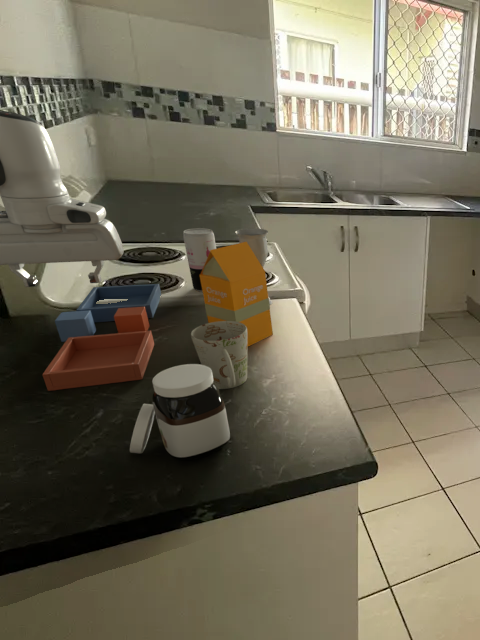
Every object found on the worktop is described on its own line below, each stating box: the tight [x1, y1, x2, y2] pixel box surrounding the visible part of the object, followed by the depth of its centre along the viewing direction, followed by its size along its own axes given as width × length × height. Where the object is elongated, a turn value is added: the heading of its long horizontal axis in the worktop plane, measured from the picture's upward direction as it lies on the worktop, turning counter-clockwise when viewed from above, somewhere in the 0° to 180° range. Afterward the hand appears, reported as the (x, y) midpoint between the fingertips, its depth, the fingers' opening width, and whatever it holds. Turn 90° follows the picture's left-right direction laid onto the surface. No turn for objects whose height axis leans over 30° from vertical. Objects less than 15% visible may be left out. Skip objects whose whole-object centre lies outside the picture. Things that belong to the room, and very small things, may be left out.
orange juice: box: [200, 242, 274, 348], centre depth 96 cm, size 8×9×20 cm
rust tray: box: [41, 330, 155, 392], centre depth 85 cm, size 13×15×3 cm
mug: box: [190, 321, 248, 390], centre depth 82 cm, size 8×13×10 cm, turn 40°
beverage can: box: [182, 227, 217, 293], centre depth 121 cm, size 7×7×15 cm
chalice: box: [235, 227, 273, 306], centre depth 114 cm, size 7×7×18 cm
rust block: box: [114, 307, 150, 333], centre depth 98 cm, size 4×4×4 cm
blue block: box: [54, 310, 97, 343], centre depth 94 cm, size 4×4×4 cm
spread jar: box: [129, 363, 231, 461], centre depth 66 cm, size 12×11×12 cm
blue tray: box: [75, 283, 162, 323], centre depth 108 cm, size 13×15×3 cm
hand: (65, 284), depth 90 cm, fingers open, 8 cm apart
